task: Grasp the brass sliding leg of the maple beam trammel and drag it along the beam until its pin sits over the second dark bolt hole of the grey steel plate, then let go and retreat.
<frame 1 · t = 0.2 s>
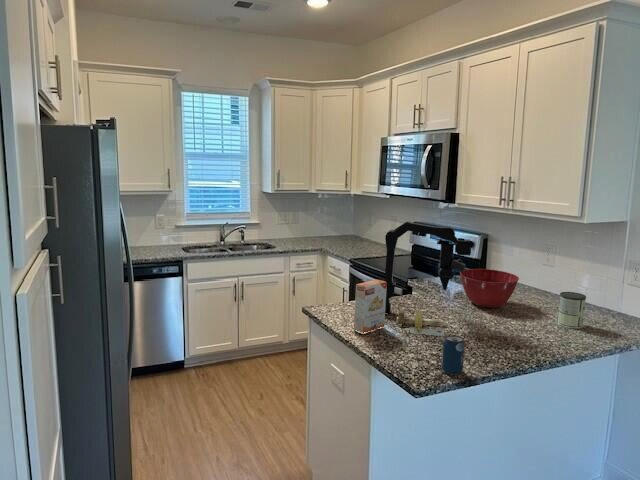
hand: (444, 287, 214), 14 cm above the worktop, fingers open, 9 cm apart
cracker box: (369, 330, 198), on the worktop
mixing bowl: (486, 304, 240), on the worktop
soda can: (452, 372, 159), on the worktop
sliding leg: (418, 319, 201), point 4 cm above the worktop, slide at 7.5 cm
coffee can: (569, 325, 210), on the worktop
trammel beam: (419, 324, 207), on the worktop
bolt plate: (419, 332, 197), on the worktop
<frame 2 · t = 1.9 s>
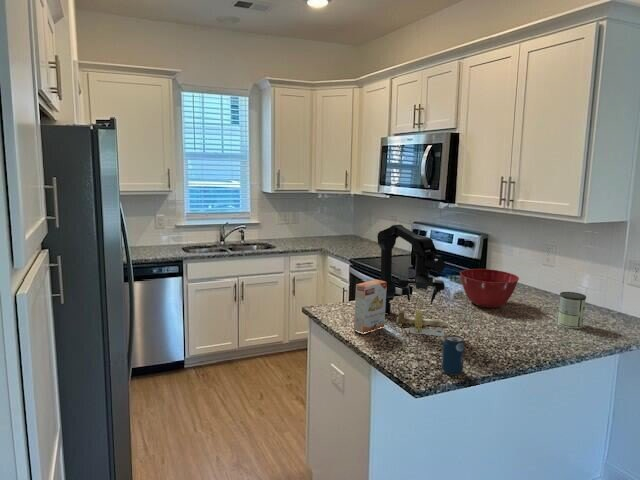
hand: (420, 303, 198), 12 cm above the worktop, fingers open, 9 cm apart
nothing on the worktop moved.
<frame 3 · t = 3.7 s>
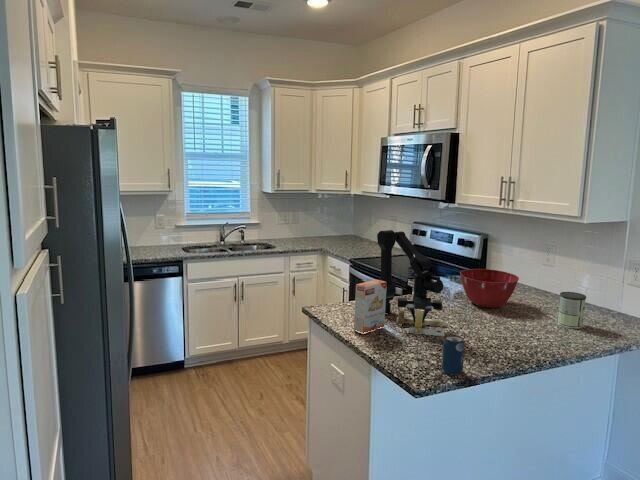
hand: (418, 322, 202), 2 cm above the worktop, fingers closed on sliding leg, 3 cm apart
sliding leg: (418, 319, 201), point 4 cm above the worktop, slide at 7.5 cm, touching gripper
everything else where it was.
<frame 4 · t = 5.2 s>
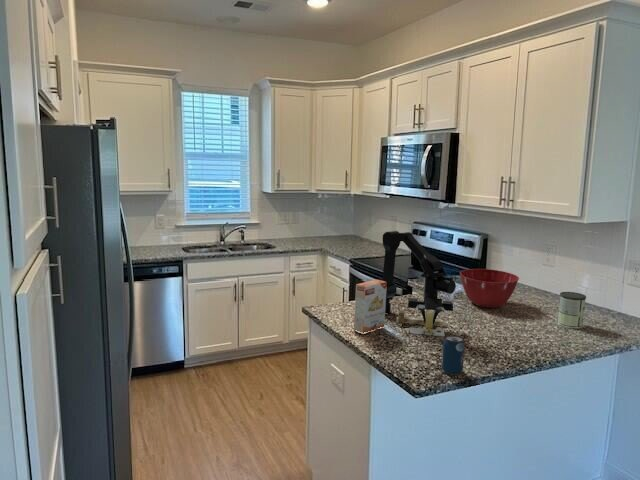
hand: (429, 323, 201), 2 cm above the worktop, fingers closed on sliding leg, 3 cm apart
sliding leg: (429, 320, 200), point 4 cm above the worktop, slide at 11.9 cm, touching gripper
everything else where it was.
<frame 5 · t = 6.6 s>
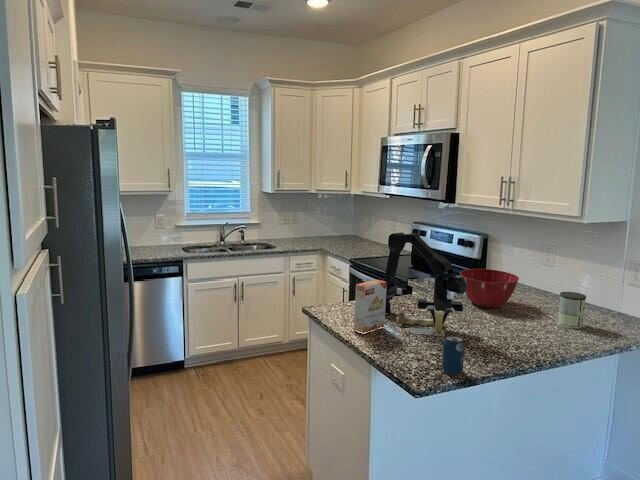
hand: (438, 324, 200), 2 cm above the worktop, fingers closed on sliding leg, 3 cm apart
sliding leg: (438, 321, 200), point 4 cm above the worktop, slide at 15.9 cm, touching gripper
everything else where it was.
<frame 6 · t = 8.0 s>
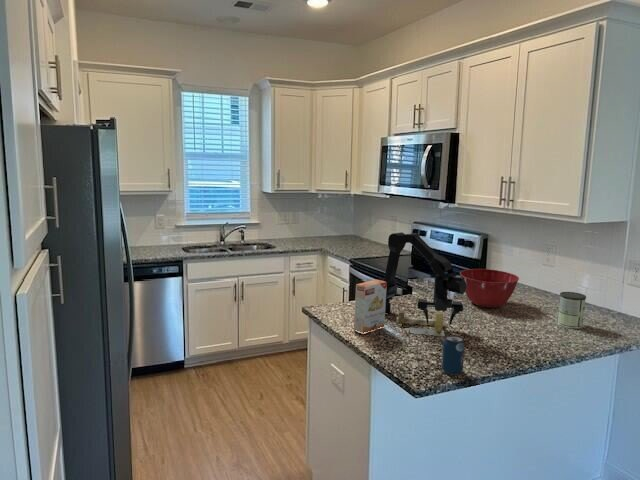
hand: (438, 324, 200), 2 cm above the worktop, fingers open, 9 cm apart
sliding leg: (438, 321, 200), point 4 cm above the worktop, slide at 16.0 cm
everything else where it was.
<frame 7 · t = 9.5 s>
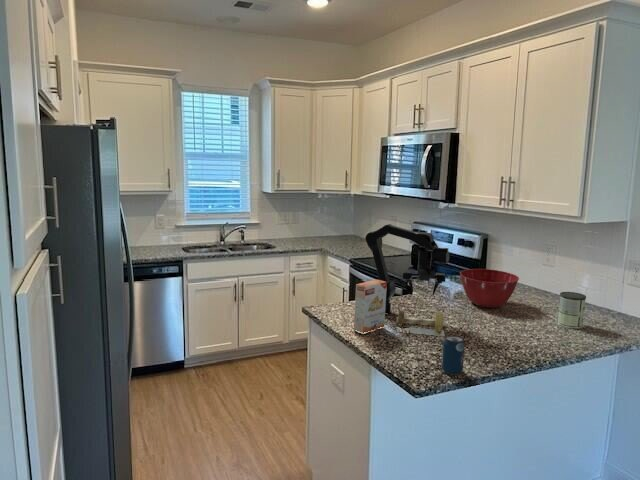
hand: (422, 294, 211), 12 cm above the worktop, fingers open, 9 cm apart
nothing on the worktop moved.
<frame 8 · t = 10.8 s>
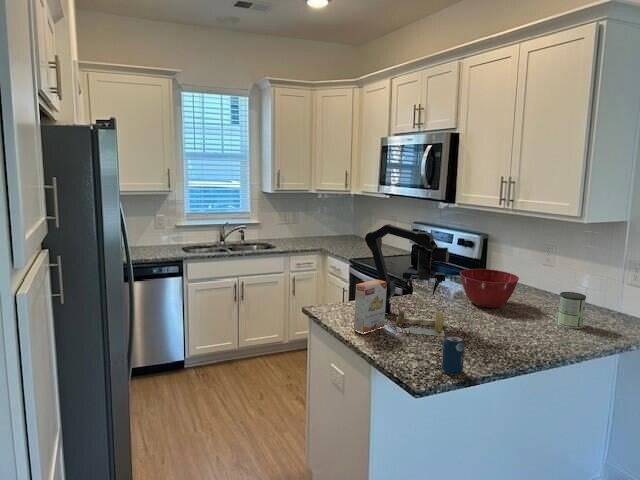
hand: (422, 294, 211), 12 cm above the worktop, fingers open, 9 cm apart
nothing on the worktop moved.
at the end: sliding leg slide at 16.0 cm; the gripper is holding nothing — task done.
